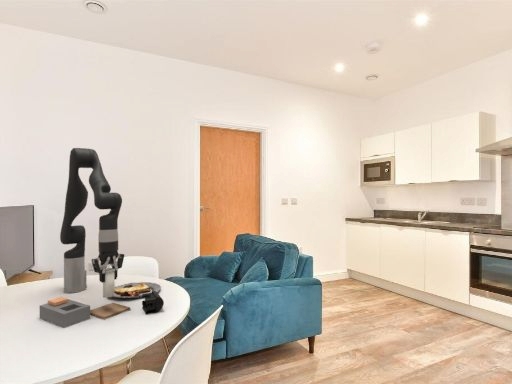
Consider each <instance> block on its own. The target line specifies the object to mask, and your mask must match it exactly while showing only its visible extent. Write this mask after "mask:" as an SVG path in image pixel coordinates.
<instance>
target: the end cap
mask: <svg viewBox="0 0 512 384" xmlns="http://www.w3.org/2000/svg"><path fill="white" fill-rule="evenodd" d="M151 292H152V293H150V292H148V293H145V294H142V297H141V299H144V300H142V301H141V305H142V310H143V312H144V314H145V315H151V314H157V313H159V311H161V310H162V309H163V306H164V299H163V298H162V297H161V295H160V294H159V293H158V292H156V291H152V290H151Z"/></svg>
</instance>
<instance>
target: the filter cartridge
mask: <svg viewBox="0 0 512 384" xmlns="http://www.w3.org/2000/svg"><path fill="white" fill-rule="evenodd" d="M114 271H115V268H112V267H110V268H109V267H107V268H106V270H105V282H104V283H102V298H113V297H112V296H114V295H115V287H116V286H115V280H114Z"/></svg>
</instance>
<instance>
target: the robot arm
mask: <svg viewBox="0 0 512 384" xmlns="http://www.w3.org/2000/svg"><path fill="white" fill-rule="evenodd" d="M68 165H69V166H68V182H67V188H66V195H65V203H64V213H63V219H62V224H61V229H60V233H59V234H60V235H59V240H60V243H61V244H62V245H74V244H76V245H74V247H72V248H70V249H68V250H66V251H65V252H63V293H66V294H74V293H78V292H83V291H84V290H86V289H87V288H88V286H87V281H88V280H87V270H86V268H85V267H86V266H85V264H86V263H85V261H86V259H85V256H86V255H85V253H86V237H87V236H86V235H87V233H86V228H85V226H84V225H72V224H73V223H74V221H75V219H76V218H77V217H78V216H79V215H80V214H81V213H82V212H83V211H84V210H85V208H86V206H87V205H88V198H89V191H88V189H87V187H86V185H85V184H84V182H83V181H82V179H81V177H80V175H79V174H80V173H79V170H80V169H81V168H82V169H92V171H91V173H90V174H89V177H88V183H89V187H90V188H91V190H92V192H93V199H94V200H93V202H94V203H93V204H94V206H95V207H96V208H97V209H98V210H109V212H108V213H106V214H103V215H101V216H99V219H98V256H97V257H95V258H92V259H91V264H92V268H93V270H94V271H93V272H94V273H97V274H98V276H99V282H100V283H102V284H103V283H104V282H105V270H106V269H107V268H108V266H109V265H110V266H111V267H110V268H115V271H114V281H115V280H117V279H118V271H119V269H122V268H123V263H124V258H125V254H124V253H119V252H118V251H119V230H118V229H119V227H118V219H119V215H120V211H121V207H122V205H123V204H122V203H123V199H122V195H121V194H120V193H119V192H111V190H112V188H111V185H110V183H109V181H108V180H107V178H106V176H105V174H104V170H103V167H102V164H101V160H100V158H99V155H98V153H97V151H96V150H95V149H93V148H82V147H73V148H72V149H71V150H70V153H69V164H68Z"/></svg>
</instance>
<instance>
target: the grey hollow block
mask: <svg viewBox="0 0 512 384" xmlns="http://www.w3.org/2000/svg"><path fill="white" fill-rule="evenodd" d="M67 299H68V302H66V303H64V304H60V305H57V306H54V305H51V304H48V302H47V303H43V304H41V305H40V304H39V319H41V320H44V321H46V322H49V323H51V324H54V325H56V326H58V327H61V328H63V329H65V328H67V327H70V326H73V325H75V324H78V323H81V322H84V321H87V320H90V319H91V315H90V310H91V305H89V304H86V303H82V302H79V301H76V300H73V299H69V298H67Z"/></svg>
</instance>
